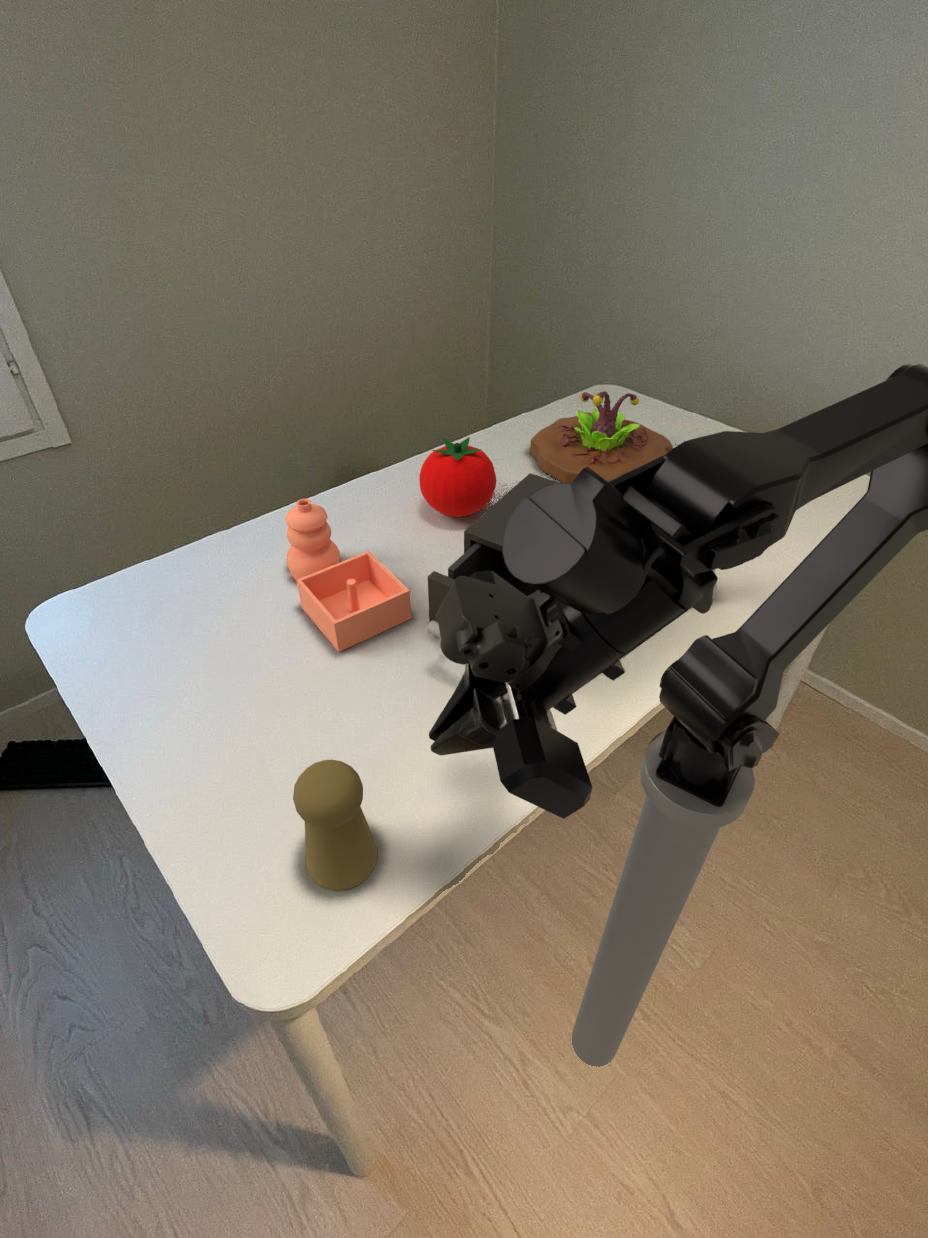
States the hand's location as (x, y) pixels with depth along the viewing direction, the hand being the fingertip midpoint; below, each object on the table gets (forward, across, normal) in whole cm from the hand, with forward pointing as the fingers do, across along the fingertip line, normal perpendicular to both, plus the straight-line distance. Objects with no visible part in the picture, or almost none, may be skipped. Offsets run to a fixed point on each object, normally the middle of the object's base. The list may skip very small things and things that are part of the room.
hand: (433, 745), depth 51 cm
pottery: (+15, -35, +4) cm, 38 cm away
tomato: (+4, -50, +16) cm, 53 cm away
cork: (+16, 0, +4) cm, 16 cm away
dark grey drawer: (+2, -25, +16) cm, 29 cm away
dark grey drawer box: (-2, -32, +22) cm, 39 cm away
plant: (-13, -62, +32) cm, 71 cm away
